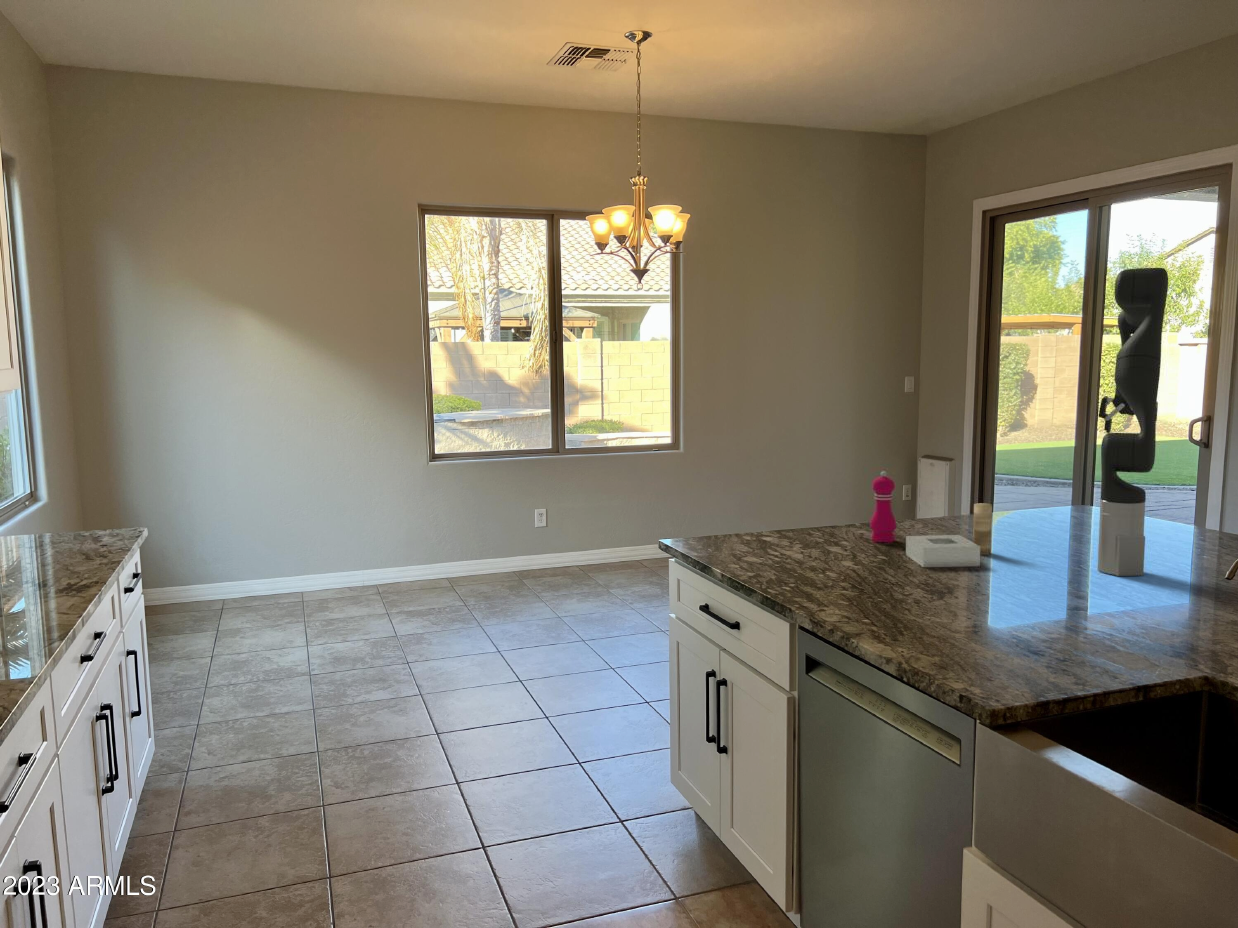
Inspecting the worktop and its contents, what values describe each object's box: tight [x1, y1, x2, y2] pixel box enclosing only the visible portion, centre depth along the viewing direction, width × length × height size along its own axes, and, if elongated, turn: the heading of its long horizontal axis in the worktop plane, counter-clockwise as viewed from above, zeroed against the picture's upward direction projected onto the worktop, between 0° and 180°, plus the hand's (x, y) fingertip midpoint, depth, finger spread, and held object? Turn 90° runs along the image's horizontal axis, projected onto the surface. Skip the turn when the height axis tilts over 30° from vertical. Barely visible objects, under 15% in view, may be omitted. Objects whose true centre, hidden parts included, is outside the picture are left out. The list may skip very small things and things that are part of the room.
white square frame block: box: [905, 534, 981, 568], centre depth 221 cm, size 14×14×5 cm
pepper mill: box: [869, 471, 897, 543], centre depth 245 cm, size 7×7×20 cm
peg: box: [972, 502, 993, 556], centre depth 227 cm, size 4×4×13 cm
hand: (1125, 434), depth 247 cm, fingers open, 8 cm apart
